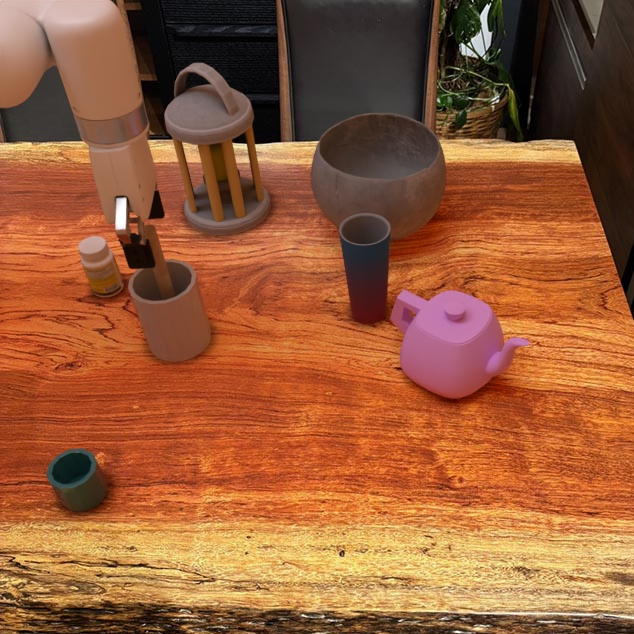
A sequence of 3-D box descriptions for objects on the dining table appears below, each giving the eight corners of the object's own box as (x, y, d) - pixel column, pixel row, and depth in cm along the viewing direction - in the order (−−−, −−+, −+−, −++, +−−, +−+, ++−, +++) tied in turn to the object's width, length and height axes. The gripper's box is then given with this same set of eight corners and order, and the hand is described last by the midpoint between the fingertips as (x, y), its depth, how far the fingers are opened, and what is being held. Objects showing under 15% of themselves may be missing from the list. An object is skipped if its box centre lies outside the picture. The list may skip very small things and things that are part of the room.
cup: (396, 324, 114) (395, 241, 103) (349, 331, 114) (342, 248, 102) (388, 293, 119) (385, 209, 107) (342, 299, 118) (335, 216, 107)
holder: (56, 513, 95) (42, 489, 91) (65, 474, 99) (52, 450, 95) (104, 510, 95) (91, 486, 91) (111, 471, 99) (99, 446, 95)
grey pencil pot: (144, 364, 111) (123, 305, 102) (152, 319, 116) (133, 261, 108) (208, 359, 111) (192, 301, 103) (213, 315, 117) (198, 256, 108)
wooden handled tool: (168, 344, 112) (134, 237, 98) (171, 329, 114) (137, 222, 100) (190, 343, 112) (158, 235, 98) (192, 328, 114) (161, 220, 100)
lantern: (287, 198, 135) (268, 55, 116) (235, 245, 127) (206, 100, 109) (221, 175, 140) (192, 34, 122) (167, 219, 132) (128, 76, 114)
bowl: (403, 282, 120) (402, 199, 109) (292, 240, 128) (280, 158, 116) (466, 210, 131) (471, 127, 120) (361, 175, 139) (356, 94, 128)
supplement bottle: (101, 275, 123) (84, 232, 117) (129, 279, 123) (114, 235, 116) (87, 296, 120) (69, 253, 114) (116, 300, 120) (100, 256, 113)
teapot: (495, 433, 101) (503, 374, 92) (366, 367, 109) (362, 308, 101) (545, 367, 108) (556, 307, 99) (420, 310, 116) (421, 250, 108)
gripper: (91, 80, 94) (127, 201, 106) (61, 165, 82) (106, 289, 95) (155, 77, 94) (184, 198, 106) (135, 161, 82) (170, 286, 95)
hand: (148, 241), depth 101 cm, fingers open, 9 cm apart
